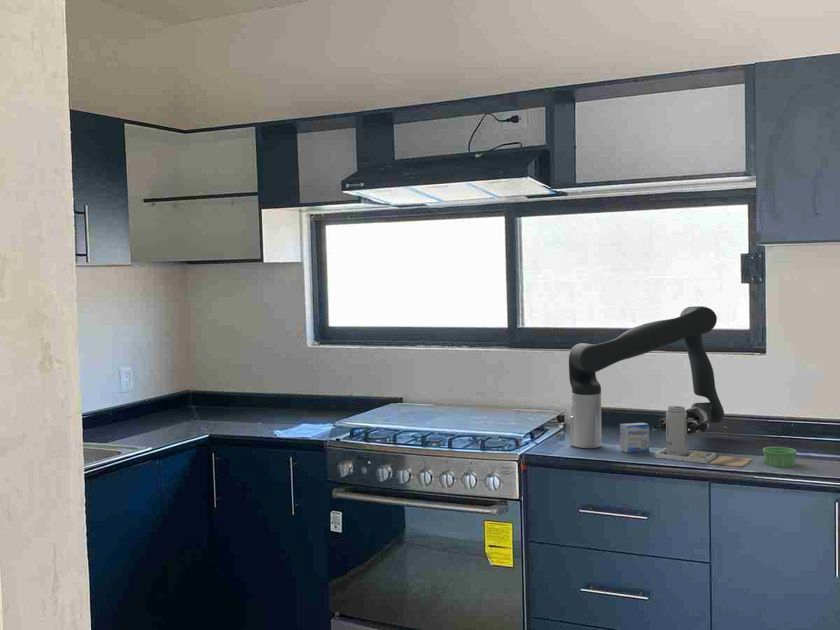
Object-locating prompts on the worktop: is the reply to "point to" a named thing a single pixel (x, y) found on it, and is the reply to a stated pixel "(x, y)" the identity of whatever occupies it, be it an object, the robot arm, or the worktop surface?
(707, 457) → the parts tray
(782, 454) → the ramekin
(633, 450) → the medicine box
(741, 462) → the cork mat
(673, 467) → the worktop surface
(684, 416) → the energy drink can
